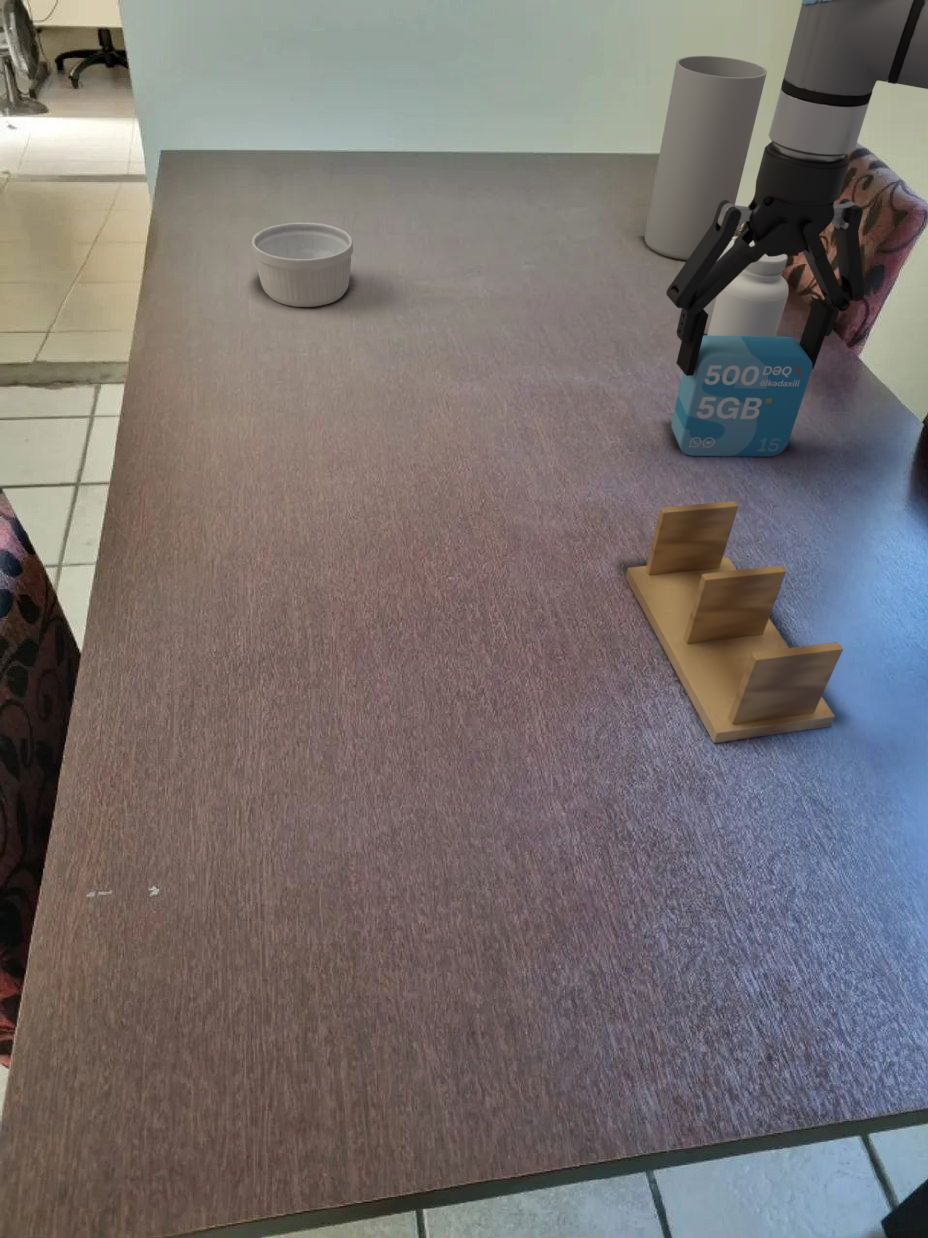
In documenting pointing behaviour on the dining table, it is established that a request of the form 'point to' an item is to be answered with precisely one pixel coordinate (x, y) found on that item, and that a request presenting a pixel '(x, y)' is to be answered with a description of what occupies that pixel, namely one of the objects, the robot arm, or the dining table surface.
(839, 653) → the slot rack
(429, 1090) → the dining table surface
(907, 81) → the robot arm
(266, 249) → the ramekin
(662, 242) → the cylinder vase
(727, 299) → the pill bottle
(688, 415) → the data package
